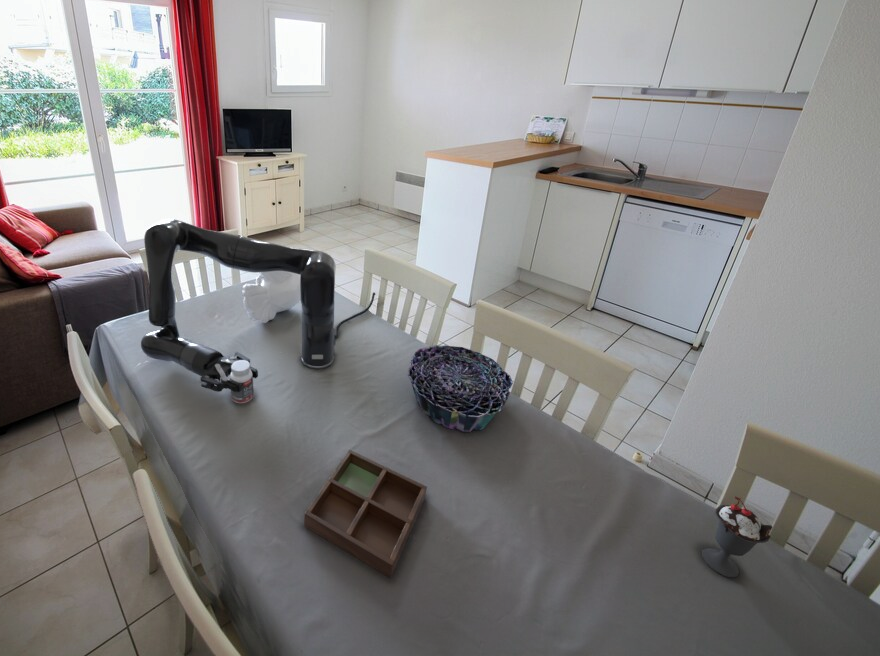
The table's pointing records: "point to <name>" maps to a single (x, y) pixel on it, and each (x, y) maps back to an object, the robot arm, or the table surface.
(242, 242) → the robot arm
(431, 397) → the decorative bowl
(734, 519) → the sundae
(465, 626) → the table surface
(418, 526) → the table surface
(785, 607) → the table surface
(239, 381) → the pill bottle
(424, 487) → the grid
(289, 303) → the decorative rooster
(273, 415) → the table surface
